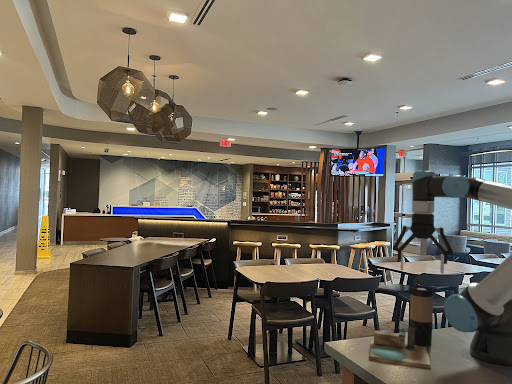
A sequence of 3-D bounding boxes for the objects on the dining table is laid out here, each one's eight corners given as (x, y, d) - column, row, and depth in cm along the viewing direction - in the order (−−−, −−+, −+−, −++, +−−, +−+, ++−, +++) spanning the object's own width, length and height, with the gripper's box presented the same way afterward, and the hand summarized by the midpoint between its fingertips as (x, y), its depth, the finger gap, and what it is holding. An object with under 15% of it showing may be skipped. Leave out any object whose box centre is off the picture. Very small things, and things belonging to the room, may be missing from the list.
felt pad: (406, 350, 134) (406, 349, 134) (408, 362, 123) (408, 361, 123) (372, 345, 137) (372, 344, 137) (371, 357, 127) (371, 356, 127)
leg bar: (405, 344, 137) (405, 332, 137) (405, 347, 134) (405, 335, 134) (374, 340, 141) (374, 328, 141) (373, 343, 138) (374, 331, 138)
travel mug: (434, 348, 139) (435, 291, 140) (411, 345, 141) (412, 289, 141) (429, 340, 147) (430, 286, 147) (407, 338, 149) (408, 285, 149)
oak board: (425, 350, 137) (425, 326, 137) (430, 368, 122) (431, 341, 122) (371, 343, 143) (371, 320, 143) (369, 359, 127) (370, 334, 128)
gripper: (458, 214, 145) (457, 272, 144) (386, 211, 152) (385, 266, 152) (462, 214, 138) (461, 276, 137) (387, 212, 145) (385, 270, 145)
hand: (421, 271), depth 145 cm, fingers open, 13 cm apart
